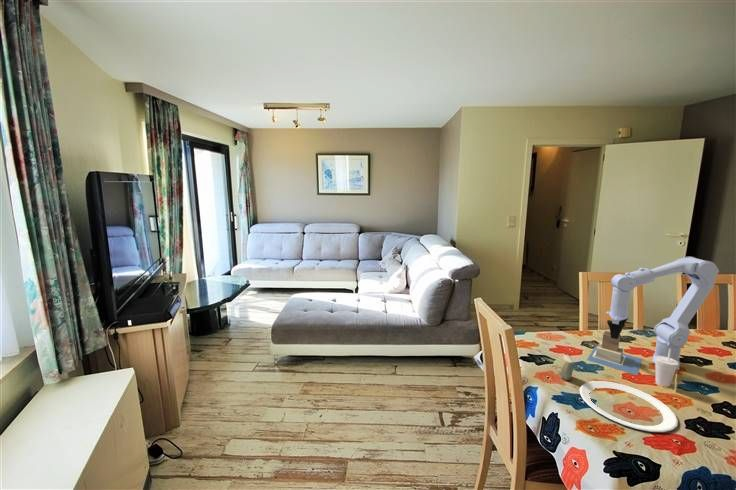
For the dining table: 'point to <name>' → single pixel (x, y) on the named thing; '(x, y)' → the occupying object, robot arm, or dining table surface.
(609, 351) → the birch block
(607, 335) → the walnut block
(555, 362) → the dining table surface
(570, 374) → the grey small block
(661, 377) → the smoothie
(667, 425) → the white flat ring
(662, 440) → the dining table surface
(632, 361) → the board
